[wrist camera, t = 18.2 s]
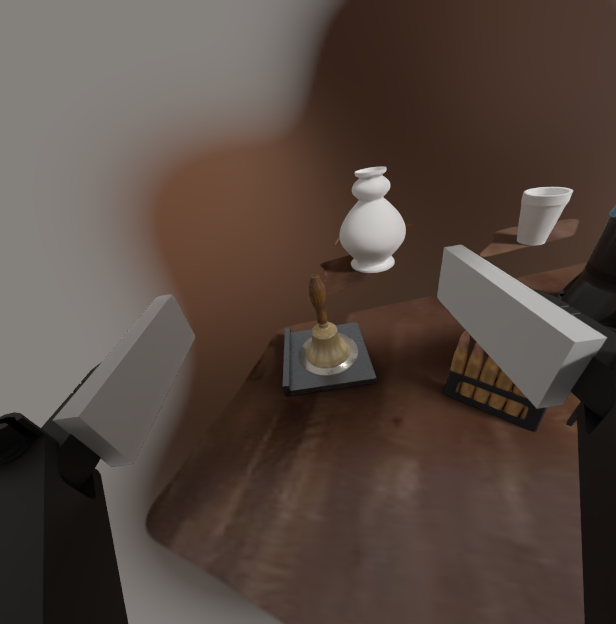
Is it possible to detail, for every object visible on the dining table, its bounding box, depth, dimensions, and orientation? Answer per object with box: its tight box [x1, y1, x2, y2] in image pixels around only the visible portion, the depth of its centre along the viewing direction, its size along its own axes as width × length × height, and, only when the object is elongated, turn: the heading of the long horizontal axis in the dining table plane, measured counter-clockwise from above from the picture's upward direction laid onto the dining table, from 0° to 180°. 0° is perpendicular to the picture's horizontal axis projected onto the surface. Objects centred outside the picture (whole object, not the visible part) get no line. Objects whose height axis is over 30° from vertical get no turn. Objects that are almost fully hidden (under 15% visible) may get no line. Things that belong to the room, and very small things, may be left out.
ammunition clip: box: [443, 330, 547, 432], centre depth 32 cm, size 11×2×12 cm, turn 50°
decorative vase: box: [340, 167, 406, 273], centre depth 70 cm, size 18×18×25 cm
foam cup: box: [517, 187, 573, 245], centre depth 68 cm, size 10×9×13 cm
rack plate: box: [283, 322, 377, 396], centre depth 47 cm, size 15×15×2 cm
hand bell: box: [305, 274, 350, 368], centre depth 43 cm, size 8×8×16 cm
